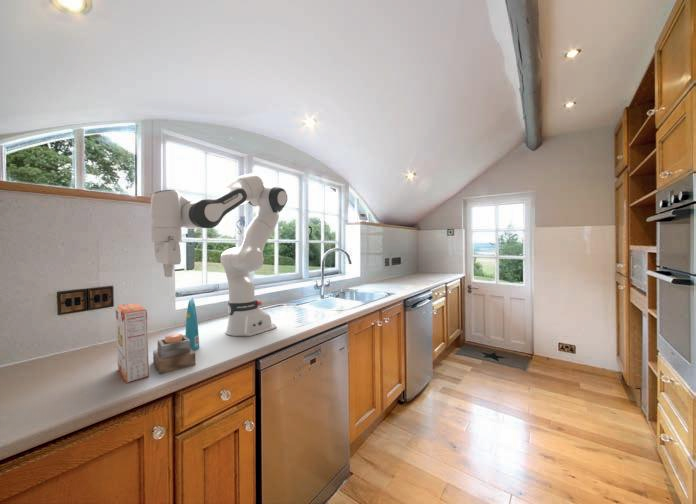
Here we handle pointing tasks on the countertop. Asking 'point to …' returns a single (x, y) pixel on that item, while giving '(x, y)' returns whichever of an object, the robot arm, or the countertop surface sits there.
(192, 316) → the tube
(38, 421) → the countertop surface
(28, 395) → the countertop surface
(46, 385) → the countertop surface
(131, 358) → the cracker box
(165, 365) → the grey stepped open box
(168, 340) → the push button
